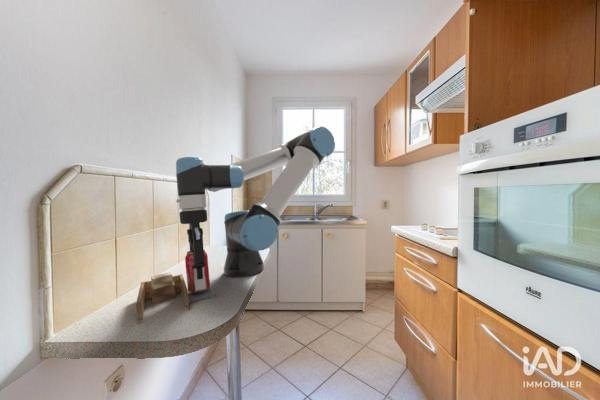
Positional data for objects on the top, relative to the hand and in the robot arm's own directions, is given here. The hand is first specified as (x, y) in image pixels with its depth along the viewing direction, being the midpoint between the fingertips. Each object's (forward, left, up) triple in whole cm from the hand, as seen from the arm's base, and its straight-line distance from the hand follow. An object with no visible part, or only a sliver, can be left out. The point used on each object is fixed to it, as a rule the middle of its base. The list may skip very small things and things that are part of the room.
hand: (199, 286), depth 73 cm
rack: (+9, 0, -3) cm, 10 cm away
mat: (0, 0, -3) cm, 3 cm away
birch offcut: (+9, -5, +1) cm, 11 cm away
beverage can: (0, -1, -2) cm, 2 cm away
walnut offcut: (+9, -5, -3) cm, 11 cm away
